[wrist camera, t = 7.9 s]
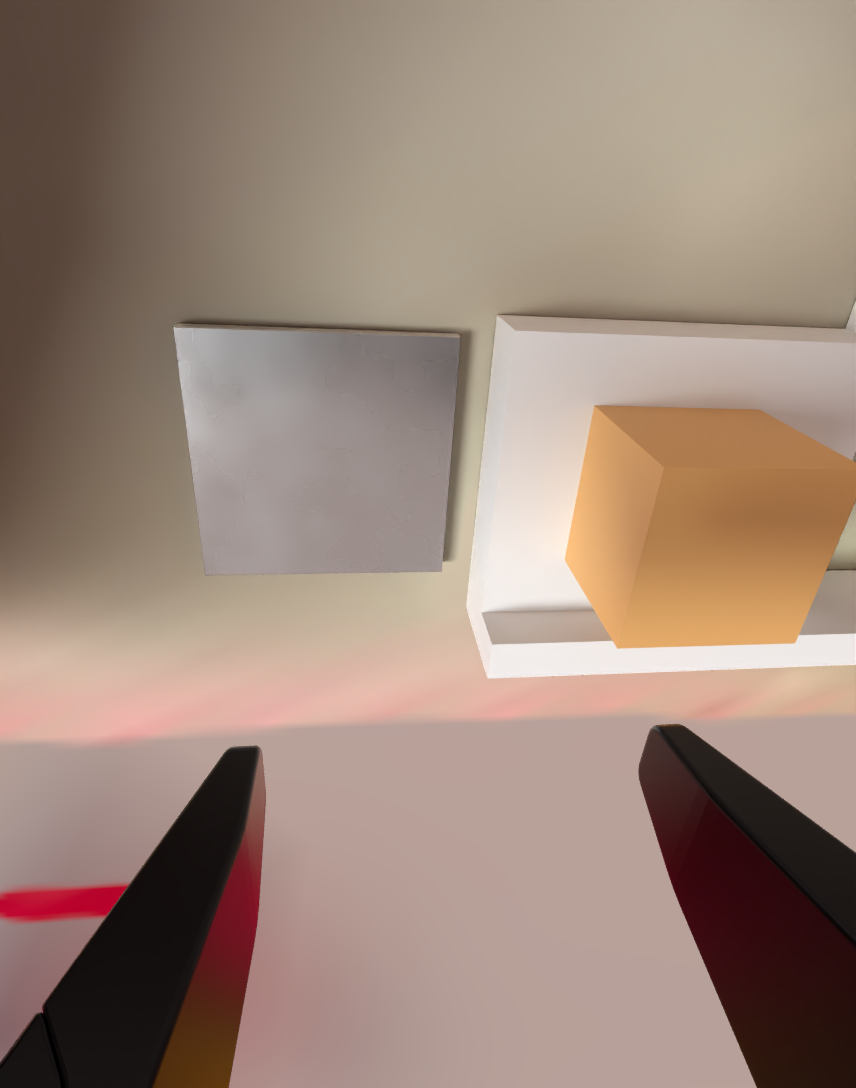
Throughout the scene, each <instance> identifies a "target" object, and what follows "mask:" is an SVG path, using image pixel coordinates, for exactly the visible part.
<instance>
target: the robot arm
mask: <svg viewBox="0 0 856 1088" xmlns="http://www.w3.org/2000/svg"><path fill="white" fill-rule="evenodd" d="M263 768H264V767H263V757H262V751H261V749H260V747H258V746H238V747H231V748H229V749H227V750H226V752H225V753H224V754H223V756H222V757H221V758H220V760H219V761H218V762H217V764H216V765H215V767H214V768H213V769H212V771H211V772H210V774H209V775H208V776H207V778H206V779H205V780H204V782H203V783H202V785H201V786H200V787H199V789H198V790H197V791H196V793H195V794H194V796H193V797H192V798H191V800H190V801H189V803H188V804H187V805H186V807H185V808H184V809H183V811H182V812H181V814H180V815H179V816H178V818H177V819H176V821H175V822H174V823H173V825H172V826H171V828H170V829H169V830H168V832H167V833H166V834H165V836H164V837H163V839H162V840H161V842H160V843H159V844H158V846H157V847H156V848H155V850H154V851H153V852H152V854H151V855H150V857H149V858H148V859H147V861H146V862H145V864H144V865H143V866H142V868H141V869H140V871H139V872H138V873H137V875H136V876H135V877H134V879H133V880H132V881H131V883H130V884H129V886H128V887H127V888H126V890H125V891H124V892H123V894H122V895H121V897H120V898H119V899H118V901H117V902H116V904H115V905H114V906H113V908H112V909H111V910H110V912H109V913H108V915H107V916H106V917H105V919H104V920H103V922H102V923H101V925H100V926H99V927H98V929H97V930H96V931H95V933H94V934H93V935H92V937H91V938H90V940H89V941H88V942H87V944H86V945H85V946H84V948H83V949H82V951H81V952H80V953H79V955H78V956H77V958H76V959H75V960H74V962H73V963H72V965H71V966H70V967H69V969H68V970H67V971H66V973H65V974H64V976H63V977H62V978H61V980H60V981H59V982H58V984H57V985H56V987H55V988H54V989H53V991H52V992H51V993H50V995H49V996H48V998H47V999H46V1000H45V1002H44V1003H43V1005H42V1011H43V1013H42V1012H38V1013H36V1014H35V1015H34V1016H33V1018H32V1019H31V1021H30V1022H29V1023H28V1025H27V1026H26V1028H25V1029H24V1030H23V1032H22V1033H21V1034H20V1036H19V1037H18V1039H17V1040H16V1041H15V1043H14V1044H13V1046H12V1047H11V1048H10V1050H9V1051H8V1053H7V1054H6V1055H5V1057H4V1058H3V1059H2V1061H1V1062H0V1088H229V1082H230V1077H231V1071H232V1066H233V1060H234V1055H235V1049H236V1043H237V1038H238V1032H239V1027H240V1021H241V1015H242V1010H243V1004H244V999H245V993H246V988H247V982H248V976H249V970H250V965H251V960H252V953H253V948H254V942H255V936H256V929H257V921H258V911H259V899H260V884H261V869H262V852H263V837H264V822H265V821H264V820H265V806H266V789H265V778H264V769H263ZM639 780H640V784H641V787H642V791H643V794H644V797H645V800H646V804H647V807H648V810H649V813H650V817H651V820H652V823H653V826H654V830H655V833H656V836H657V839H658V842H659V846H660V849H661V852H662V856H663V859H664V862H665V865H666V868H667V871H668V875H669V877H670V880H671V883H672V886H673V889H674V892H675V894H676V897H677V899H678V902H679V904H680V907H681V909H682V911H683V914H684V916H685V919H686V921H687V923H688V926H689V928H690V930H691V933H692V935H693V937H694V940H695V942H696V944H697V947H698V949H699V951H700V954H701V956H702V959H703V961H704V964H705V966H706V968H707V971H708V973H709V975H710V978H711V980H712V982H713V985H714V987H715V990H716V992H717V994H718V997H719V999H720V1001H721V1004H722V1006H723V1009H724V1011H725V1013H726V1016H727V1018H728V1020H729V1023H730V1025H731V1027H732V1030H733V1032H734V1035H735V1037H736V1039H737V1042H738V1044H739V1046H740V1049H741V1051H742V1053H743V1056H744V1058H745V1061H746V1063H747V1065H748V1068H749V1070H750V1072H751V1075H752V1077H753V1079H754V1082H755V1084H756V1086H757V1088H856V852H854V851H853V850H852V849H850V848H849V847H848V846H846V845H845V844H843V843H842V842H841V841H839V840H838V839H837V838H835V837H834V836H833V835H831V834H830V833H829V832H827V831H826V830H825V829H823V828H822V827H820V826H819V825H818V824H816V823H815V822H814V821H812V820H811V819H810V818H808V817H807V816H805V815H804V814H803V813H802V812H800V811H799V810H797V809H796V808H795V807H793V806H792V805H791V804H789V803H788V802H787V801H785V800H784V799H782V798H781V797H780V796H779V795H777V794H776V793H774V792H773V791H772V790H770V789H769V788H768V787H766V786H765V785H763V784H762V783H761V782H759V781H758V780H757V779H756V778H754V777H753V776H751V775H750V774H749V773H747V772H746V771H745V770H743V769H742V768H741V767H739V766H738V765H737V764H735V763H734V762H732V761H731V760H730V759H728V758H727V757H726V756H724V755H723V754H722V753H720V752H719V751H718V750H716V749H715V748H714V747H712V746H711V745H710V744H708V743H707V742H705V741H704V740H703V739H701V738H700V737H699V736H697V735H696V734H695V733H693V732H692V731H691V730H689V729H688V728H686V727H685V726H683V725H680V724H667V725H656V726H653V728H651V729H650V731H649V734H648V737H647V741H646V744H645V747H644V750H643V753H642V757H641V760H640V763H639Z"/></svg>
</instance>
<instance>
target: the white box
mask: <svg viewBox="0 0 856 1088" xmlns="http://www.w3.org/2000/svg"><path fill="white" fill-rule="evenodd" d="M594 406H634V407H674V408H714V409H754V410H761V411H763V412H765V413H767V414H768V415H770V416H772V417H774V418H776V419H777V420H779V421H781V422H783V423H785V424H787V425H788V426H790V427H792V428H794V429H796V430H797V431H799V432H801V433H803V434H805V435H807V436H808V437H810V438H812V439H814V440H816V441H817V442H819V443H821V444H823V445H825V446H827V447H828V448H830V449H832V450H834V451H836V452H837V453H839V454H841V455H843V456H845V457H847V458H848V459H850V460H853V457H854V455H855V452H856V301H855V304H854V306H853V309H852V312H851V315H850V318H849V320H848V323H847V326H846V329H836V328H811V327H786V326H762V325H737V324H712V323H687V322H662V321H637V320H612V319H587V318H562V317H537V316H513V315H497V320H496V330H495V339H494V349H493V358H492V367H491V377H490V386H489V396H488V405H487V415H486V424H485V433H484V443H483V452H482V462H481V471H480V481H479V490H478V499H477V509H476V518H475V528H474V537H473V547H472V556H471V565H470V575H469V584H468V594H467V603H466V609H467V612H468V615H469V619H470V622H471V625H472V629H473V632H474V635H475V638H476V642H477V645H478V648H479V652H480V655H481V658H482V662H483V665H484V668H485V672H486V675H487V678H514V677H541V676H567V675H594V674H620V673H647V672H673V671H700V670H726V669H753V668H779V667H806V666H832V665H856V570H833V571H826V572H825V574H824V577H823V579H822V581H821V584H820V586H819V588H818V591H817V593H816V596H815V598H814V600H813V603H812V605H811V607H810V610H809V612H808V614H807V617H806V619H805V621H804V624H803V626H802V628H801V631H800V633H799V635H798V638H797V640H796V643H792V644H758V645H723V646H689V647H654V648H620V649H617V647H616V646H615V644H614V642H613V641H612V639H611V637H610V636H609V634H608V632H607V631H606V629H605V627H604V626H603V624H602V622H601V620H600V619H599V617H598V615H597V614H596V612H595V610H594V609H593V607H592V605H591V604H590V602H589V600H588V599H587V597H586V595H585V594H584V592H583V590H582V589H581V587H580V585H579V584H578V582H577V580H576V578H575V577H574V575H573V573H572V572H571V570H570V568H569V567H568V565H567V563H566V562H565V555H566V549H567V544H568V539H569V534H570V529H571V523H572V518H573V513H574V508H575V503H576V497H577V492H578V487H579V482H580V477H581V471H582V466H583V461H584V456H585V451H586V445H587V440H588V435H589V430H590V425H591V419H592V414H593V409H594Z"/></svg>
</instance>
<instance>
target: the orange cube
mask: <svg viewBox="0 0 856 1088" xmlns="http://www.w3.org/2000/svg"><path fill="white" fill-rule="evenodd" d="M855 501H856V462H854V461H852V460H850V459H848V458H847V457H845V456H843V455H841V454H839V453H837V452H836V451H834V450H832V449H830V448H828V447H827V446H825V445H823V444H821V443H819V442H817V441H816V440H814V439H812V438H810V437H808V436H807V435H805V434H803V433H801V432H799V431H797V430H796V429H794V428H792V427H790V426H788V425H787V424H785V423H783V422H781V421H779V420H777V419H776V418H774V417H772V416H770V415H768V414H767V413H765V412H763V411H761V410H754V409H714V408H674V407H634V406H594V409H593V414H592V419H591V425H590V430H589V435H588V440H587V445H586V451H585V456H584V461H583V466H582V471H581V477H580V482H579V487H578V492H577V497H576V503H575V508H574V513H573V518H572V523H571V529H570V534H569V539H568V544H567V549H566V555H565V562H566V563H567V565H568V567H569V568H570V570H571V572H572V573H573V575H574V577H575V578H576V580H577V582H578V584H579V585H580V587H581V589H582V590H583V592H584V594H585V595H586V597H587V599H588V600H589V602H590V604H591V605H592V607H593V609H594V610H595V612H596V614H597V615H598V617H599V619H600V620H601V622H602V624H603V626H604V627H605V629H606V631H607V632H608V634H609V636H610V637H611V639H612V641H613V642H614V644H615V646H616V647H617V649H620V648H654V647H689V646H723V645H758V644H792V643H796V640H797V638H798V635H799V633H800V631H801V628H802V626H803V624H804V621H805V619H806V617H807V614H808V612H809V610H810V607H811V605H812V603H813V600H814V598H815V596H816V593H817V591H818V588H819V586H820V584H821V581H822V579H823V577H824V574H825V572H826V570H827V567H828V565H829V563H830V560H831V558H832V556H833V553H834V551H835V548H836V546H837V544H838V541H839V539H840V537H841V534H842V532H843V530H844V527H845V525H846V523H847V520H848V518H849V516H850V513H851V511H852V509H853V506H854V504H855Z"/></svg>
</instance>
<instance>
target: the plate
mask: <svg viewBox="0 0 856 1088" xmlns="http://www.w3.org/2000/svg"><path fill="white" fill-rule="evenodd" d="M173 328H174V336H175V344H176V352H177V359H178V367H179V375H180V383H181V390H182V398H183V406H184V414H185V422H186V429H187V437H188V445H189V453H190V460H191V468H192V476H193V484H194V491H195V499H196V507H197V515H198V523H199V530H200V538H201V546H202V554H203V561H204V569H205V575H246V574H314V573H382V572H442V562H443V550H444V537H445V525H446V513H447V500H448V488H449V476H450V464H451V451H452V439H453V427H454V414H455V402H456V390H457V377H458V365H459V353H460V340H461V337H460V336H459V335H458V333H433V332H405V331H377V330H350V329H322V328H294V327H266V326H238V325H210V324H182V323H178V324H177V325H175V326H174V327H173Z"/></svg>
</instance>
